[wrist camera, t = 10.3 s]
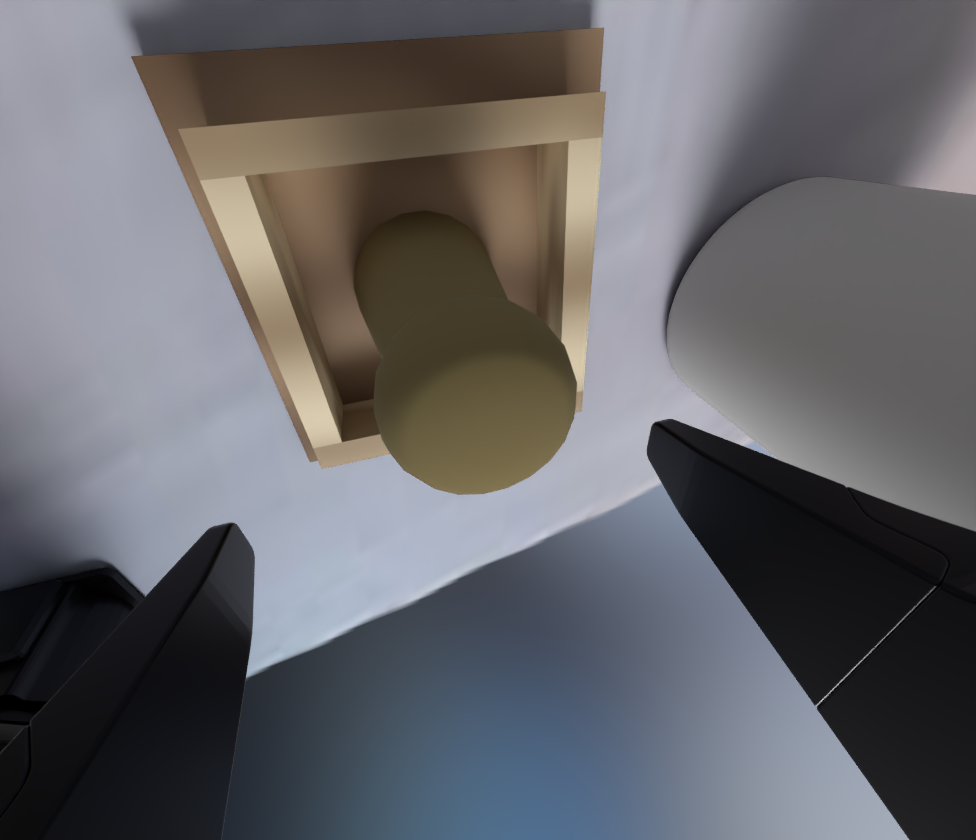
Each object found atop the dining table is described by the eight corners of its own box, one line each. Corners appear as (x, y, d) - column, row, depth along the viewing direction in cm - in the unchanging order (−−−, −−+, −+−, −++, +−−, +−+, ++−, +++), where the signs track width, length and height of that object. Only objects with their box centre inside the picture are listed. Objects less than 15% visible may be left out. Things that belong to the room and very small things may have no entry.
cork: (326, 237, 16) (299, 374, 8) (474, 189, 17) (609, 268, 8) (386, 367, 20) (413, 559, 11) (505, 326, 20) (621, 481, 12)
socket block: (571, 394, 25) (602, 434, 22) (311, 450, 23) (304, 503, 19) (591, 32, 15) (652, 10, 12) (144, 60, 13) (78, 42, 10)
